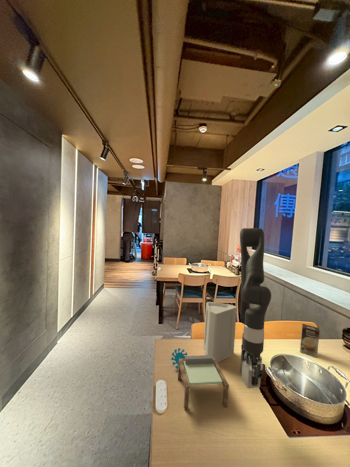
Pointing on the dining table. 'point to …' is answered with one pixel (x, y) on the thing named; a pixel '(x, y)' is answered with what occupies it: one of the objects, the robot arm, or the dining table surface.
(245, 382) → the small gray block
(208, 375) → the trapdoor
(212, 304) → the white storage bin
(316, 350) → the coffee box
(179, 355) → the teal piece
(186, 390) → the stand
